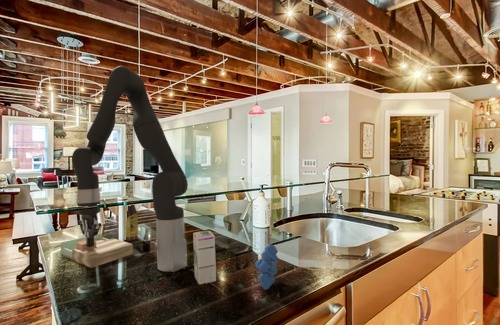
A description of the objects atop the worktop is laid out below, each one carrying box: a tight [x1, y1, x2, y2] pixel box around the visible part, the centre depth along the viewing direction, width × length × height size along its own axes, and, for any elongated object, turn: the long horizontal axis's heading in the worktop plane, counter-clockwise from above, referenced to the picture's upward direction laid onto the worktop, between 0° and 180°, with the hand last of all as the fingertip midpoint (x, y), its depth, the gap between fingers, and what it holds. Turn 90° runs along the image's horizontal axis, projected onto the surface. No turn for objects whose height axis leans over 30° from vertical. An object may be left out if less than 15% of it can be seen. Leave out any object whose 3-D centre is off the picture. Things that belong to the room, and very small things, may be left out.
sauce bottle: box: [126, 204, 139, 242], centre depth 131 cm, size 7×6×20 cm
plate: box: [72, 238, 134, 269], centre depth 109 cm, size 14×16×4 cm
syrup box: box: [192, 230, 217, 285], centre depth 88 cm, size 6×6×14 cm
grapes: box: [254, 243, 280, 290], centre depth 83 cm, size 12×7×12 cm, turn 157°
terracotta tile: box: [76, 240, 96, 250], centre depth 109 cm, size 5×5×2 cm
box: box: [60, 232, 110, 261], centre depth 116 cm, size 10×16×5 cm, turn 145°
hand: (90, 246), depth 106 cm, fingers closed
